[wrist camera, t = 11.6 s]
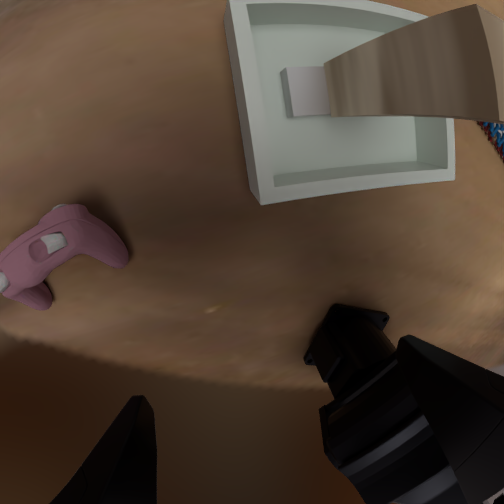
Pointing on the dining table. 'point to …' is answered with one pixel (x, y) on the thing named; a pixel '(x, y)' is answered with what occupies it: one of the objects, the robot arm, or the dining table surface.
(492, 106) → the plate
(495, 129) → the woven mat
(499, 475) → the robot arm
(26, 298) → the video game controller
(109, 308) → the dining table surface
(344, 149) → the box
